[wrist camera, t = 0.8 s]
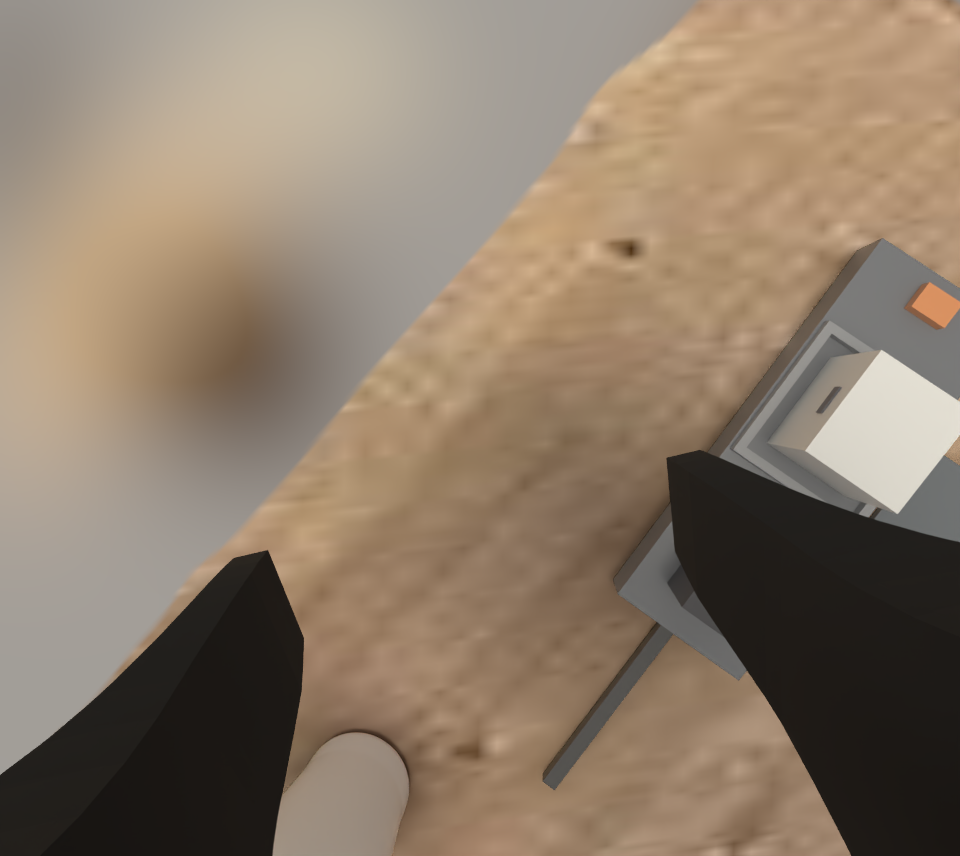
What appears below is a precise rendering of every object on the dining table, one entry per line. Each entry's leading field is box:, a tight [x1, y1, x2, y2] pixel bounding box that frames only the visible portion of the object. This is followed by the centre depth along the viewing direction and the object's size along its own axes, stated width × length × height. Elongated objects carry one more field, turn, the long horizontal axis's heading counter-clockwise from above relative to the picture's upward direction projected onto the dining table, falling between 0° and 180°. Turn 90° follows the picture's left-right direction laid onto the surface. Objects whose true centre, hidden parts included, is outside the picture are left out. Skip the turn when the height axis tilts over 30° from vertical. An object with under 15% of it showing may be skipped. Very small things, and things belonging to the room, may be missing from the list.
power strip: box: [543, 238, 960, 790], centre depth 29 cm, size 6×29×6 cm, turn 145°
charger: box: [767, 350, 960, 514], centre depth 27 cm, size 4×4×4 cm
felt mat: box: [870, 456, 960, 542], centre depth 31 cm, size 9×9×1 cm
